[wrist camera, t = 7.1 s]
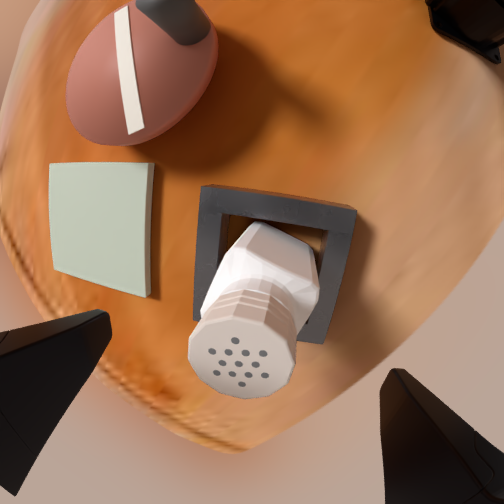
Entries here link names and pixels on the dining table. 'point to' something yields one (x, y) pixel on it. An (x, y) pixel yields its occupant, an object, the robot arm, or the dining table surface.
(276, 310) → the pepper shaker
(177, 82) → the handwheel
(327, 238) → the dark grey square frame
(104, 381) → the dining table surface
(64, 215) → the board
